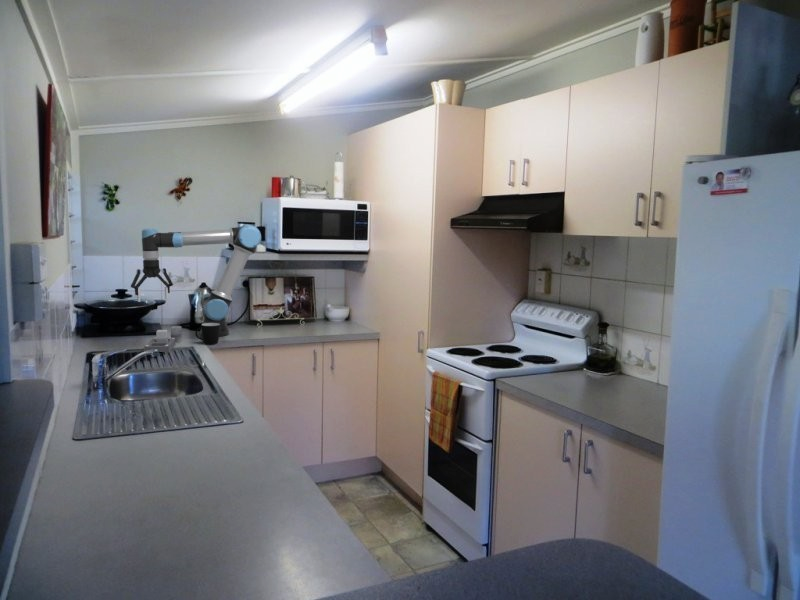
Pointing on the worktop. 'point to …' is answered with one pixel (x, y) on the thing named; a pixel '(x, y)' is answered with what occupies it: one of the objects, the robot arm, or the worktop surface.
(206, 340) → the mug
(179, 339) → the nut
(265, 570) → the worktop surface
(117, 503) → the worktop surface
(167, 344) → the grey blocky piece
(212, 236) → the robot arm
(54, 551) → the worktop surface
